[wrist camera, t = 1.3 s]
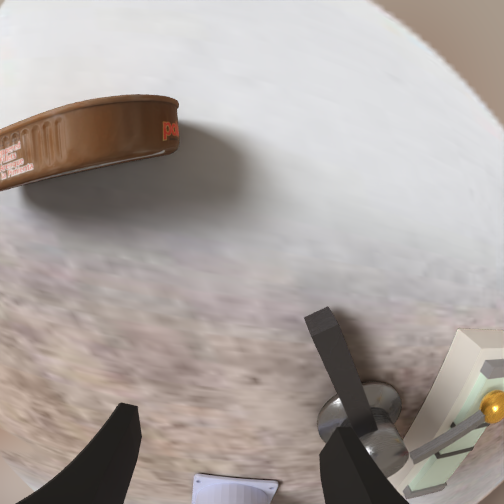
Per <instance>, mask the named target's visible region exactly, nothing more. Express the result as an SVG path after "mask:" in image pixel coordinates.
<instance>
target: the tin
mask: <svg viewBox="0 0 504 504" xmlns="http://www.w3.org/2000/svg"><path fill="white" fill-rule="evenodd" d="M178 107H179V103H178V101H177V100H175V99H173V98H170V97H166V96H159V95H141V94H135V95H120V96H111V97H103V98H96V99H90V100H85V101H81V102H75V103H72V104H68V105H65V106H61V107H58V108H55V109H52V110H49V111H46V112H43V113H40V114H37V115H35V116H32V117H30V118H27V119H25V120H22V121H19V122H17V123H14V124H12V125H9V126H7V127H5V128H2V129H0V191H3V190H7V189H11V188H14V187H18V186H22V185H25V184H29V183H33V182H37V181H41V180H45V179H49V178H54V177H58V176H63V175H68V174H72V173H77V172H82V171H87V170H91V169H96V168H101V167H106V166H110V165H115V164H120V163H125V162H130V161H135V160H141V159H146V158H152V157H158V156H163V155H168V154H171V153H173V152H175V151H176V150H177V149H178V147H179V128H178V117H177V109H178Z"/></svg>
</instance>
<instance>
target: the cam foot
mask: <svg viewBox="0 0 504 504" xmlns="http://www.w3.org/2000/svg"><path fill="white" fill-rule="evenodd" d="M304 319H305V321H306V324H307V327H308V329H309V332H310V334H311V337H312V339H313V341H314V343H315V346H316V348H317V350H318V352H319V354H320V357H321V359H322V361H323V363H324V365H325V367H326V370H327V372H328V374H329V376H330V378H331V381H332V383H333V385H334V387H335V390H336V392H337V394H336V395H335V396H333V397H332V398H331V399H330V400H329V401H328V402H327V403H326V404H325V405H324V407H323V408H322V410H321V411H320V413H319V416H318V420H317V427H318V431H319V435H320V437H321V438H322V440H323V441H324V442H326V443H327V442H328V440H329V439H330V437H331V435H332V434H333V432H334V431H335V429H336V427H352V428H353V430H354V431H355V433H356V434H357V436H358V437H359V439H360V441H361V442H362V444H363V445H364V447H365V448H366V450H367V451H368V453H369V454H370V456H371V457H372V459H373V460H374V461H375V463H376V464H377V466H378V467H379V468H380V470H381V471H382V472H383V474H384V475H385V476H386V478H388V477H390V476H392V475H393V474H395V473H396V472H398V471H399V470H400V469H401V468H402V467H403V466H404V465H405V464H406V462H407V460H408V458H409V453H410V458H411V460H412V462H413V464H414V465H415V464H417V463H419V462H421V461H423V460H424V459H426V458H428V457H430V456H432V455H433V454H435V453H437V452H439V451H440V450H442V449H444V448H445V447H447V446H449V445H450V444H452V443H454V442H455V441H457V440H458V439H460V438H462V437H463V436H465V435H466V434H468V433H469V432H471V431H472V430H474V429H475V428H476V427H478V426H479V425H481V424H482V423H484V422H486V423H491V424H492V423H497V422H499V421H501V420H502V419H503V418H504V391H502V390H493V391H491V392H489V393H487V394H486V395H485V396H484V398H483V399H482V401H481V403H480V406H479V411H477V412H476V413H474V414H473V415H471V416H470V417H468V418H467V419H465V420H464V421H462V422H461V423H459V424H458V425H456V426H455V427H453V428H452V429H450V430H448V431H447V432H445V433H443V434H442V435H440V436H438V437H437V438H435V439H433V440H431V441H430V442H428V443H426V444H424V445H422V446H421V447H419V448H417V449H415V450H413V451H411V452H408V450H407V448H406V446H405V444H404V442H403V440H402V439H401V437H400V435H399V433H398V431H397V429H396V427H395V425H394V423H395V422H396V420H397V419H398V417H399V414H400V412H401V405H402V403H401V399H400V396H399V395H398V393H397V392H396V390H395V389H394V388H393V387H392V386H390V385H389V384H386V383H383V382H377V381H371V382H364V383H361V381H360V378H359V375H358V373H357V370H356V367H355V365H354V362H353V360H352V357H351V354H350V352H349V349H348V347H347V344H346V342H345V339H344V337H343V334H342V332H341V329H340V327H339V324H338V322H337V321H336V319H335V317H334V315H333V314H332V312H331V310H330V309H329V307H326V308H324V309H321V310H319V311H317V312H315V313H313V314H311V315H308V316H306V317H304Z"/></svg>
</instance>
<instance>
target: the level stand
mask: <svg viewBox="0 0 504 504" xmlns="http://www.w3.org/2000/svg"><path fill="white" fill-rule="evenodd" d="M493 390H502V391H504V330H485V329H463V328H458V329H457V332H456V334H455V337H454V339H453V342H452V344H451V347H450V349H449V351H448V354H447V356H446V358H445V360H444V363H443V365H442V367H441V369H440V371H439V374H438V376H437V378H436V380H435V382H434V384H433V386H432V388H431V390H430V392H429V394H428V396H427V398H426V400H425V402H424V404H423V405H422V407H421V409H420V411H419V413H418V415H417V416H416V418H415V420H414V422H413V423H412V425H411V427H410V429H409V430H408V432H407V434H406V435H405V437H404V439H403V442H404V444H405V446H406V448H407V450H408V452H411V451H413V450H415V449H417V448H419V447H421V446H422V445H424V444H426V443H428V442H430V441H431V440H433V439H435V438H437V437H438V436H440V435H442V434H443V433H445V432H447V431H448V430H450V429H452V428H453V427H455V426H456V425H458V424H459V423H461V422H462V421H464V420H465V419H467V418H468V417H470V416H471V415H473V414H474V413H476V412H477V411H479V406H480V403H481V401H482V399H483V398H484V396H485V395H486V394H487V393H489V392H491V391H493ZM489 425H490V423H486V422H484V423H482V424H481V425H479V426H478V427H476V428H475V429H474V430H472V431H471V432H469V433H468V434H466V435H465V436H463V437H462V438H460V439H458V440H457V441H455V442H454V443H452V444H450V445H449V446H447V447H445V448H444V449H442V450H440V451H439V452H437V453H435V454H433V455H432V456H430V457H428V458H426V459H424V460H423V461H421V462H419V463H417V464H415V465H414V464H413V462H412V460H411V458H410V453H409V458H408V460H407V462H406V464H405V465H404V466H403V467H402V468H401V469H400V470H399V471H398V472H396V473H395V474H393V475H392V476H390V477H388V478H387V479H388V480H389V482H390V483H391V484H392V485H393V486H394V488H395V489H396V490H397V491H398V492H399V493H400V494H401V495H405V497H406V499H409V498H414V497H418V496H422V495H426V494H430V493H434V492H437V491H441V490H443V489H444V488H445V486H446V485H447V484H446V481H447V480H448V479H449V477H450V476H451V475H452V474H453V472H454V471H455V470H456V469H457V467H458V466H459V465H460V464H461V462H462V461H463V460H464V458H465V457H466V456H467V454H468V453H469V452H470V451H472V450H473V448H474V445H475V443H476V442H477V440H478V439H479V438H480V436H481V435H482V433H483V432H484V430H485V429H486V427H487V426H489Z"/></svg>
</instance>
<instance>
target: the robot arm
mask: <svg viewBox="0 0 504 504" xmlns="http://www.w3.org/2000/svg"><path fill="white" fill-rule="evenodd" d="M141 438H142V434H141V428H140V421H139V414H138V406H134V405H130V404H125V403H119V404H118V406H117V407H116V409H115V410H114V412H113V413H112V414H111V416H110V417H109V419H108V420H107V421H106V423H105V424H104V425H103V427H102V428H101V429H100V430H99V432H98V433H97V434H96V435H95V436H94V438H93V439H92V440H91V441H90V442H89V444H88V445H87V446H86V447H85V448H84V449H83V450H82V451H81V452H80V453H79V454H78V455H77V456H76V458H75V459H74V460H73V461H72V462H71V463H70V464H69V465H68V466H66V467H65V468H64V469H63V470H62V471H61V472H60V473H59V474H58V475H56V476H55V477H54V478H53V479H52V480H50V481H49V482H48V483H46V484H45V485H44V486H42V487H41V488H40V489H38V490H37V491H35V492H34V493H32V494H31V495H29V496H28V497H26V498H24V499H23V500H21V501H19V502H18V503H16V504H123V503H124V500H125V496H126V493H127V490H128V487H129V484H130V481H131V478H132V474H133V471H134V468H135V465H136V462H137V458H138V453H139V448H140V443H141ZM319 456H320V476H321V482H322V488H323V493H324V498H325V503H326V504H409V503H408V502H407V501H406V500H405V499H404V498H403V497H402V495H401V494H400V493H399V492H398V491H397V490H396V489H395V488H394V486H393V485H392V484H391V483H390V482H389V480H388V479H387V478H386V476H385V475H384V474H383V472H382V471H381V470H380V468H379V467H378V466H377V464H376V463H375V461H374V460H373V459H372V457H371V456H370V454H369V453H368V451H367V450H366V448H365V447H364V445H363V444H362V442H361V441H360V439H359V437H358V436H357V434H356V433H355V431H354V430H353V428H352V427H336V429H335V431H334V432H333V434H332V435H331V437H330V439H329V440H328V442H327V443H326V445H325V447H324V448H323V450H322V451H321V453H320V454H319ZM277 488H278V482H277V481H273V480H254V479H241V478H230V477H221V476H213V475H205V474H195V475H194V483H193V495H192V504H270V503H271V501H272V498H273V496H274V494H275V492H276V490H277Z"/></svg>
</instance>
